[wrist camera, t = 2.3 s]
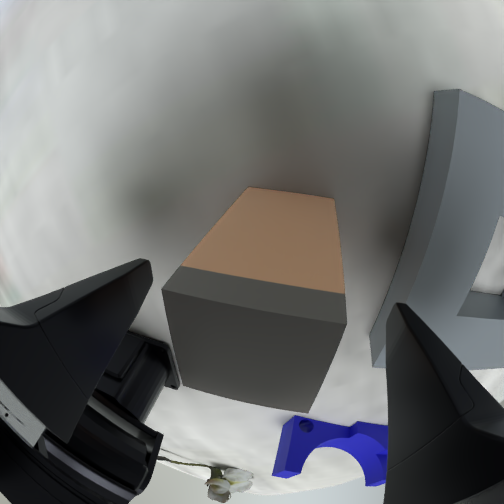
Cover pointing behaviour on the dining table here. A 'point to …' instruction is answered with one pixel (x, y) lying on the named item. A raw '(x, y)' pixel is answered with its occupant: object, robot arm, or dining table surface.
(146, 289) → the robot arm
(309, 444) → the cable clip
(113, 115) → the dining table surface
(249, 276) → the tan upright block
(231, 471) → the artificial flower
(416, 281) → the socket plate
